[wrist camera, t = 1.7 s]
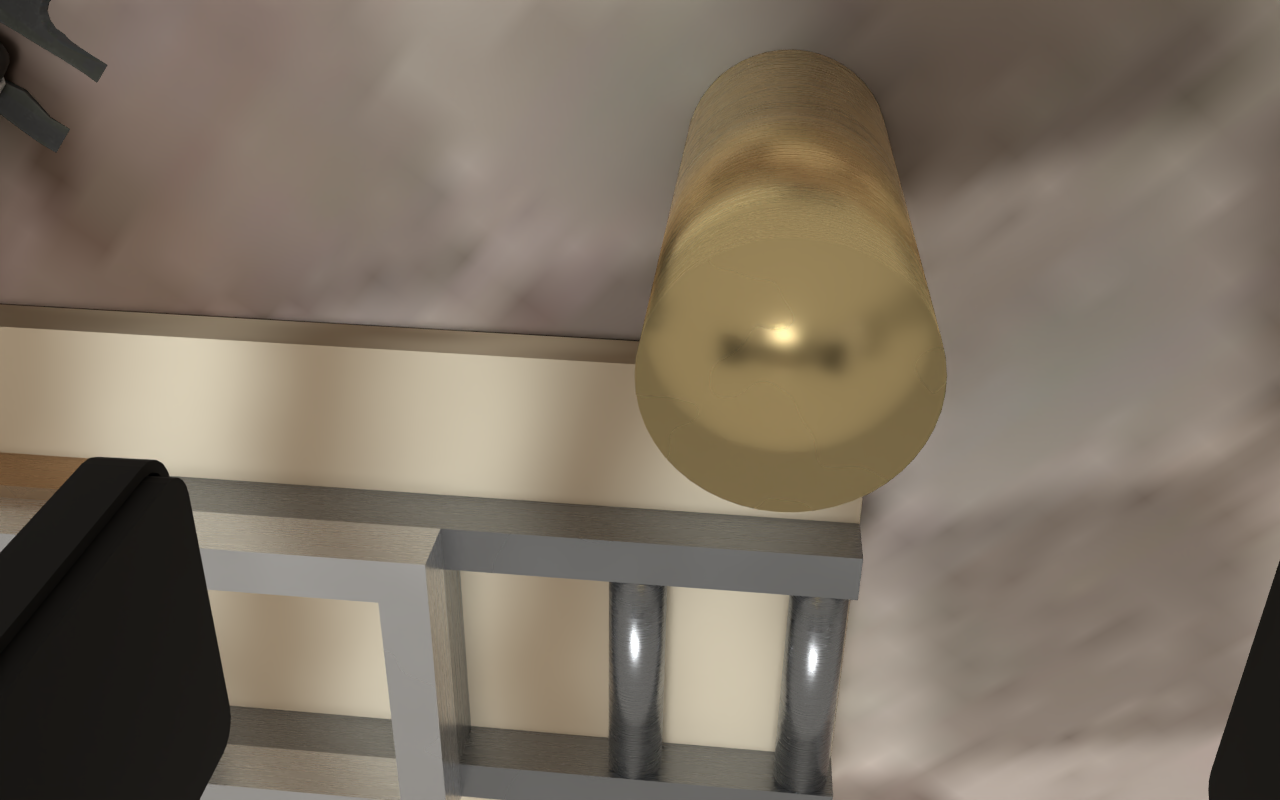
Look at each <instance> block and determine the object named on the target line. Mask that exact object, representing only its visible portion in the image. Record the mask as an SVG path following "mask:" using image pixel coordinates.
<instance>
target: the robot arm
mask: <svg viewBox="0 0 1280 800" xmlns="http://www.w3.org/2000/svg"><path fill="white" fill-rule="evenodd" d="M230 726H231V712H230V704H229V699H228V694H227V689H226V684H225V678H224V673H223V668H222V663H221V658H220V652H219V647H218V642H217V637H216V632H215V626H214V621H213V616H212V611H211V606H210V600H209V595H208V590H207V585H206V580H205V574H204V569H203V564H202V559H201V554H200V548H199V543H198V538H197V533H196V528H195V522H194V517H193V512H192V507H191V502H190V496H189V492H188V489H187V486H186V484H185V483H184V481H183V480H182V479H180V478H178V477H170V476H169V473H168V471H167V469H166V467H165V466H164V464H163V463H161V462H159V461H158V460H150V459H131V458H112V457H92V458H89V459H87V460H86V461H85V462H83V463H82V464H81V465H80V466H79V467H78V468H77V469H76V471H75V472H74V473H73V474H72V475H71V476H70V477H69V478H68V479H67V480H66V481H65V482H64V484H63V485H62V486H61V487H60V488H59V489H58V490H57V491H56V492H55V493H54V494H53V496H52V497H51V498H50V499H49V500H48V501H47V502H46V503H45V504H44V505H43V506H42V507H41V509H40V510H39V511H38V512H37V513H36V514H35V515H34V516H33V517H32V518H31V519H30V521H29V522H28V523H27V524H26V525H25V526H24V527H23V528H22V529H21V530H20V531H19V533H18V534H17V535H16V536H15V537H14V538H13V539H12V540H11V541H10V542H9V543H8V544H7V546H6V547H5V548H4V549H3V550H2V551H1V552H0V800H200V798H201V796H202V794H203V792H204V790H205V788H206V786H207V784H208V782H209V781H210V779H211V777H212V775H213V773H214V771H215V769H216V767H217V765H218V763H219V761H220V759H221V757H222V755H223V753H224V751H225V748H226V745H227V742H228V738H229V733H230ZM1209 800H1280V561H1279V564H1278V568H1277V571H1276V574H1275V577H1274V580H1273V583H1272V586H1271V589H1270V592H1269V595H1268V598H1267V601H1266V604H1265V607H1264V610H1263V614H1262V617H1261V620H1260V623H1259V626H1258V629H1257V632H1256V635H1255V638H1254V641H1253V644H1252V647H1251V650H1250V653H1249V656H1248V660H1247V663H1246V666H1245V669H1244V672H1243V675H1242V678H1241V681H1240V684H1239V687H1238V690H1237V693H1236V696H1235V699H1234V702H1233V706H1232V709H1231V712H1230V715H1229V718H1228V721H1227V724H1226V727H1225V730H1224V733H1223V736H1222V739H1221V742H1220V745H1219V748H1218V751H1217V755H1216V758H1215V761H1214V764H1213V767H1212V770H1211V774H1210V778H1209Z"/></svg>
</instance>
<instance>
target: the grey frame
mask: <svg viewBox="0 0 1280 800" xmlns="http://www.w3.org/2000/svg"><path fill="white" fill-rule="evenodd" d="M170 477H178V478H180V479H182V480H183V481H184V483H185V484H186V486H187V489H188V492H189V496H190V502H191V507H192V511H200V512H214V513H228V514H242V515H255V516H269V517H283V518H297V519H311V520H325V521H339V522H353V523H367V524H381V525H395V526H409V527H423V528H437V529H441V541H442V554H443V567H444V579H445V592H446V605H447V617H448V630H449V642H450V655H451V668H452V680H453V693H454V706H455V718H456V731H457V744H458V756H459V769H460V781H461V794H462V796H464V797H475V798H486V799H497V800H832V799H833V792H832V771H831V757H830V751H831V743H832V735H833V726H834V718H835V710H836V702H837V694H838V686H839V678H840V669H841V661H842V653H843V645H844V637H845V629H846V621H847V612H848V604H849V600H858V594H859V586H860V579H861V571H862V563H863V554H862V544H861V534H860V524H859V523H844V522H830V521H815V520H801V519H786V518H772V517H757V516H743V515H728V514H714V513H700V512H685V511H671V510H656V509H642V508H627V507H613V506H598V505H584V504H569V503H555V502H541V501H526V500H512V499H497V498H483V497H468V496H454V495H439V494H425V493H410V492H396V491H382V490H367V489H353V488H338V487H324V486H309V485H295V484H280V483H266V482H252V481H237V480H223V479H208V478H194V477H179V476H170ZM460 571H471V572H485V573H498V574H512V575H525V576H539V577H552V578H565V579H579V580H592V581H606V582H609V738H607V737H595V736H583V735H571V734H559V733H548V732H536V731H524V730H512V729H501V728H489V727H477V726H471V718H470V704H469V690H468V676H467V662H466V648H465V634H464V619H463V605H462V591H461V577H460ZM667 586H673V587H687V588H700V589H713V590H727V591H740V592H754V593H767V594H781V595H789V605H788V616H787V627H786V638H785V649H784V659H783V670H782V681H781V692H780V702H779V713H778V724H777V735H776V746H775V752H771V751H760V750H748V749H736V748H724V747H713V746H701V745H689V744H677V743H665V742H662V735H663V704H664V672H665V640H666V608H667ZM230 712H231V726H230V733H229V738H228V742H227V744H234V745H245V746H256V747H268V748H279V749H291V750H302V751H314V752H325V753H336V754H348V755H359V756H371V757H382V758H393V759H396V755H395V746H394V737H393V728H392V720H391V719H383V718H371V717H359V716H348V715H336V714H324V713H312V712H300V711H289V710H277V709H265V708H253V707H242V706H230Z"/></svg>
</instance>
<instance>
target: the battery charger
mask: <svg viewBox="0 0 1280 800" xmlns="http://www.w3.org/2000/svg"><path fill="white" fill-rule="evenodd" d="M8 65H9V54H8V52H7V50H6V48H5V47H4V46H3V45H2V44H1V43H0V93H1V91H2V89H3V88H4V86H5V84H6V83H5V80H4V74H5V73H6V71H7V68H8Z"/></svg>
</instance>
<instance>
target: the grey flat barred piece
mask: <svg viewBox="0 0 1280 800" xmlns="http://www.w3.org/2000/svg"><path fill="white" fill-rule="evenodd" d="M87 459H89V458H76V457H61V456H46V455H32V454H17V453H2V452H0V552H1V551H2V550H3V549H4V548H5V547H6V546H7V544H8V543H9V542H10V541H11V540H12V539H13V538H14V537H15V536H16V535H17V534H18V533H19V531H20V530H21V529H22V528H23V527H24V526H25V525H26V524H27V523H28V522H29V521H30V519H31V518H32V517H33V516H34V515H35V514H36V513H37V512H38V511H39V510H40V509H41V507H42V506H43V505H44V504H45V503H46V502H47V501H48V500H49V499H50V498H51V497H52V496H53V494H54V493H55V492H56V491H57V490H58V489H59V488H60V487H61V486H62V485H63V484H64V482H65V481H66V480H67V479H68V478H69V477H70V476H71V475H72V474H73V473H74V472H75V471H76V469H77V468H78V467H79V466H80V465H81V464H82V463H83V462H85V461H86V460H87ZM192 512H193V517H194V522H195V528H196V533H197V538H198V543H199V548H200V554H201V559H202V564H203V569H204V574H205V580H206V585H207V590H218V591H231V592H244V593H257V594H270V595H283V596H296V597H309V598H322V599H335V600H348V601H361V602H374V603H378V605H379V614H380V622H381V631H382V640H383V649H384V658H385V667H386V675H387V684H388V693H389V702H390V711H391V720H392V728H393V737H394V746H395V755H396V759H393V758H382V757H371V756H359V755H348V754H336V753H325V752H314V751H302V750H291V749H279V748H268V747H256V746H245V745H234V744H227V745H226V748H225V751H224V753H223V755H222V757H221V759H220V761H219V763H218V765H217V767H216V769H215V771H214V773H213V775H212V777H211V779H210V781H209V782H208V784H207V786H206V788H205V790H204V792H203V794H202V796H201V798H200V800H461V797H462V794H461V781H460V769H459V756H458V744H457V731H456V718H455V706H454V693H453V680H452V668H451V655H450V642H449V630H448V617H447V605H446V592H445V579H444V567H443V554H442V541H441V529H437V528H423V527H409V526H395V525H381V524H367V523H353V522H339V521H325V520H311V519H297V518H283V517H269V516H255V515H242V514H228V513H214V512H200V511H192Z"/></svg>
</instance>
